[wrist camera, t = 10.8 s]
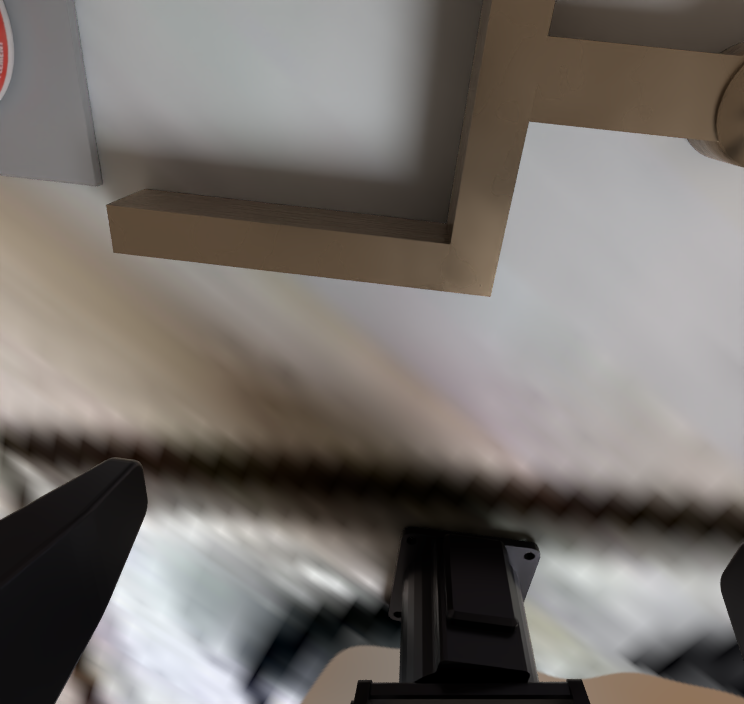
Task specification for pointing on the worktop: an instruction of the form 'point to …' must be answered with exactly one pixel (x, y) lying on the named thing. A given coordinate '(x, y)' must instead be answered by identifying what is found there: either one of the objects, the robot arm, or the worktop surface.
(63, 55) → the coaster
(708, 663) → the worktop surface
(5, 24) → the pill bottle
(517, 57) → the ball knob bracket
